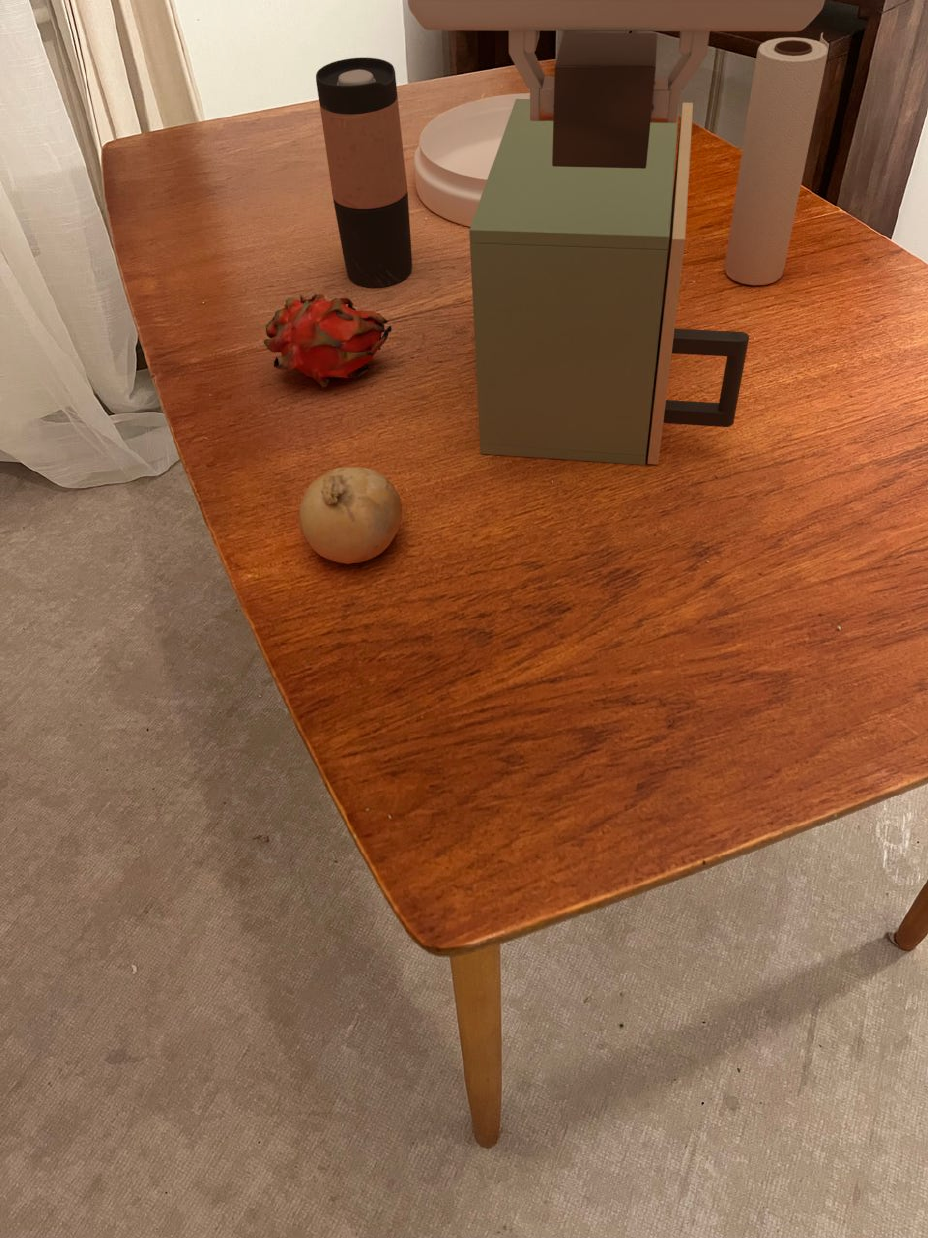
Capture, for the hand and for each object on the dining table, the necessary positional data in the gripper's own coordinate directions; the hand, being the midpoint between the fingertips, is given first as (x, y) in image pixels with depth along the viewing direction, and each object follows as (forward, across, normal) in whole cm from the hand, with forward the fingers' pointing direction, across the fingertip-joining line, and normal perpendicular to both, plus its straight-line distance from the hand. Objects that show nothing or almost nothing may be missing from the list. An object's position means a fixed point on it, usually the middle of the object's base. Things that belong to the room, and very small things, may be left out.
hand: (604, 118), depth 53 cm
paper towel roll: (+31, +16, +43) cm, 55 cm away
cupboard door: (+31, +9, +22) cm, 39 cm away
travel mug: (+32, -24, +41) cm, 57 cm away
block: (+2, 0, 0) cm, 2 cm away
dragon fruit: (+32, -25, +22) cm, 46 cm away
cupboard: (+31, -2, +22) cm, 39 cm away
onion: (+32, -17, -1) cm, 36 cm away
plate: (+31, -11, +64) cm, 72 cm away
